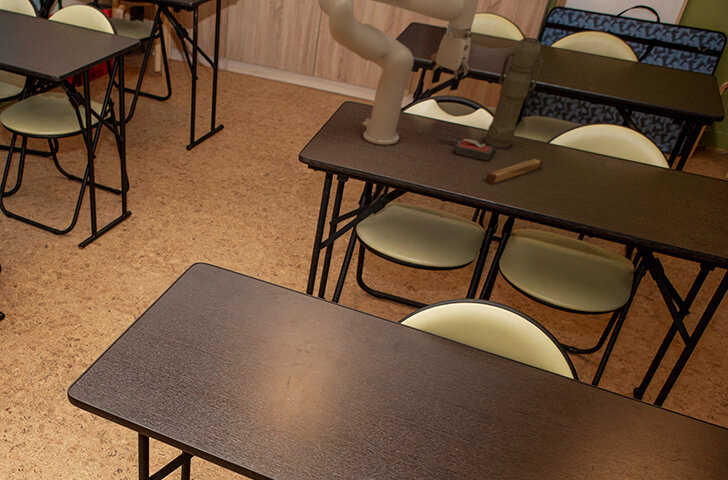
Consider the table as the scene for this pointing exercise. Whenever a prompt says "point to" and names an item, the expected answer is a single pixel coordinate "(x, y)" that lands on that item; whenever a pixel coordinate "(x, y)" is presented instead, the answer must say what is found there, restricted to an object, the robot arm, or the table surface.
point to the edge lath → (514, 170)
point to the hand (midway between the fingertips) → (444, 85)
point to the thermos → (513, 92)
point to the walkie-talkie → (471, 148)
